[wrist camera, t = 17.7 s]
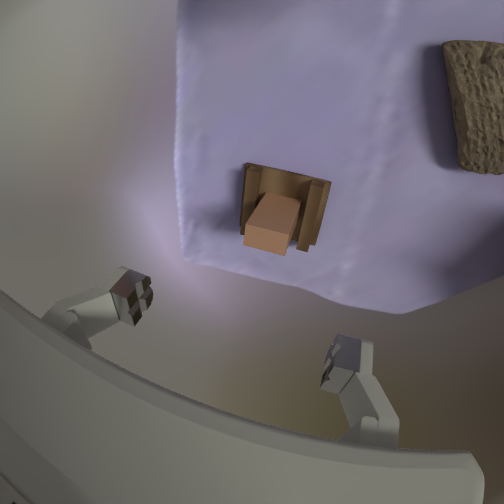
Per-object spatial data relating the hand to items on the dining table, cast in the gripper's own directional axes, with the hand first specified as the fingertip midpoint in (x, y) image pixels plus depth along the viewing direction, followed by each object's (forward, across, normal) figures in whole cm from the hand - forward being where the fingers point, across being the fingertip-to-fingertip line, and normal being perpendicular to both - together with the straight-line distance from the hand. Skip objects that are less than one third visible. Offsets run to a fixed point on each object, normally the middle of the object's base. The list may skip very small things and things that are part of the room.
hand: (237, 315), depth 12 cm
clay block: (+36, +4, +14) cm, 39 cm away
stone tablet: (+38, -32, -16) cm, 52 cm away
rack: (+37, +4, +14) cm, 40 cm away
